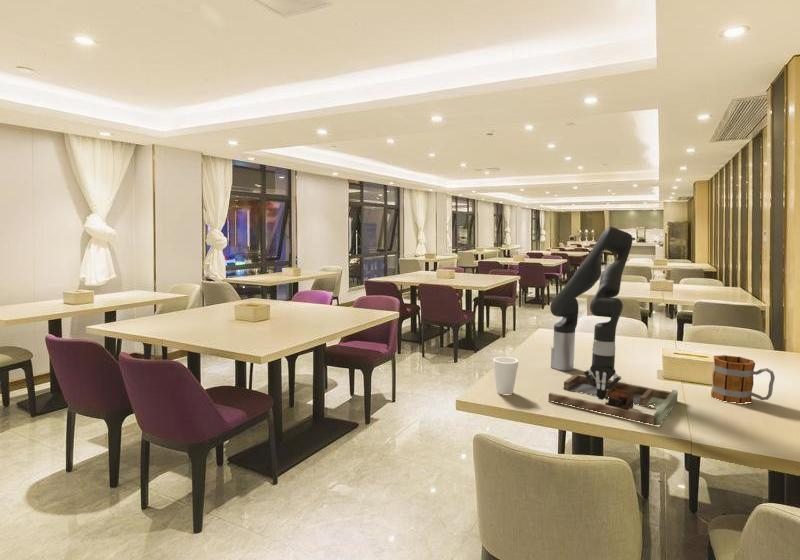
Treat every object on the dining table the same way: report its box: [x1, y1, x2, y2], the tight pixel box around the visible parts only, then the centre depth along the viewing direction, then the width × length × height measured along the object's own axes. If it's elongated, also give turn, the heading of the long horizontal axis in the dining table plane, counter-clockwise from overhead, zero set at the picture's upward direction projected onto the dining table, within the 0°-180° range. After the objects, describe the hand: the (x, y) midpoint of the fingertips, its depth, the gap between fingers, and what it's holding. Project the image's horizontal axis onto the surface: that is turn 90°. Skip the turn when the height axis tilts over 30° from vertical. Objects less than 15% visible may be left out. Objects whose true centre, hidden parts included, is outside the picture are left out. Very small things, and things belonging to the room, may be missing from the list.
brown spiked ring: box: [604, 388, 635, 410], centre depth 171 cm, size 12×10×8 cm
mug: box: [710, 354, 776, 403], centre depth 182 cm, size 20×14×15 cm
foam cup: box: [492, 356, 519, 395], centre depth 189 cm, size 10×9×13 cm
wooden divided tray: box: [548, 374, 678, 426], centre depth 180 cm, size 38×31×4 cm
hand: (601, 398), depth 177 cm, fingers closed
